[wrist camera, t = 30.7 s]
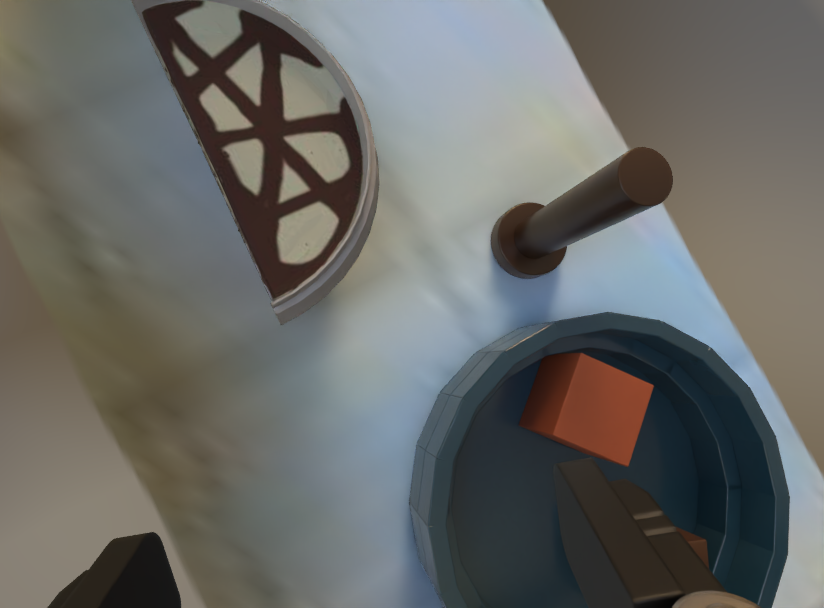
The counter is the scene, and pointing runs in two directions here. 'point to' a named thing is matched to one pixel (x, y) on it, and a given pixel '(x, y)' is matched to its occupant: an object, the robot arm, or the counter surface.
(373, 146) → the food container
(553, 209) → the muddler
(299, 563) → the counter surface
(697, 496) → the bowl
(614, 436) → the block
